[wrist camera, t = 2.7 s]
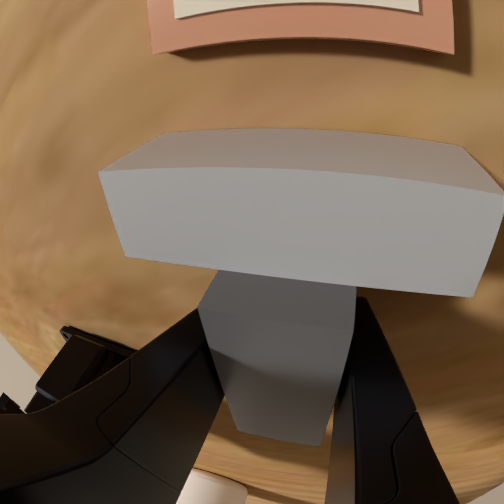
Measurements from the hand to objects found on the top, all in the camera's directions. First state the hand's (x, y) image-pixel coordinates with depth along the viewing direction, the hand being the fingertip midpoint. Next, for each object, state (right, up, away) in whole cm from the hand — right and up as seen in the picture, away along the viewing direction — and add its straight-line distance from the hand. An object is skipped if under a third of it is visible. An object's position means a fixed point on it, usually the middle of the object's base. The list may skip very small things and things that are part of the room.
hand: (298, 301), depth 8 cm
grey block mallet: (0, +1, 0) cm, 1 cm away
